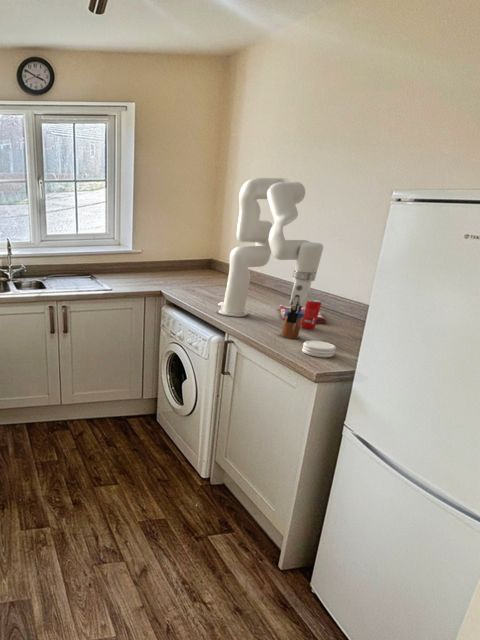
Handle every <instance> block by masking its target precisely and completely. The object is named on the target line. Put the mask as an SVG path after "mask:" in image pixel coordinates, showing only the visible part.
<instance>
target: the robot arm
mask: <svg viewBox="0 0 480 640" xmlns="http://www.w3.org/2000/svg"><path fill="white" fill-rule="evenodd" d="M305 196H306V188H305V186H304V184H303V183H302V182H299V181H296V180H292V179H287V178H282V177H254V178H250V179H249V180H247V181H245V182H244V183H243V185H242V186H241V188H240V190H239V194H238V204H239V205H238V206H239V211H238V219H237V227H236V236H235V237H236V240H237V241H238V242H239V243H242V244H243V243H245V244H247V243H250V244H251V243H252V244H253V243H255V245H239V246H236V247H234V248H233V249H231V251H230V253H229V269H228V276H227V283H226V289H225V292H224V299H223V301H220V302H218V303H217V306H218V307H220V309H219V310H218V313H219V314H220V315H223V316H227V317H234V318H237V317H239V318H242V317H247V316H248V311H246V310H245V309H246V303H247V299H248V293H249V290H250V289H249V288H250V283H251V276H252V275H251V273H250V269H249V268H259V267H260V268H261V267H265V266H266V265H267V264H268V263H269V261H270V259H271V254H272V256H273V258H274V259H276V260H279V261H296V262H295V266H294V269H293V274H292V278H291V279H292V280H294V283H293V287H292V291H291V295H290V299H289V305H290V307H291V308H290V311H289V314H288V318H287V322H289V323H296V320H297V316H298V310H299V311H301V310H300V309H301V308H304V307H305V306H306V304H307V301H308V300H309V295H310V292H311V291H310V290H311V287H312V282H315V281H316V277H317V273H318V269H319V265H320V262H321V258H322V253H323V251H324V244H322V243H320V242H313V241H309V240H307V239H286V238H285V235H284V227H286V226H288V225H289V224H291V223H293V222H294V221H296V220H297V218H298V217H299V211H298V208H297V206H296V205H297V204H300V203H301V202H302V201H303V200H304V198H305ZM258 200H267V202H268V206H269V208H270V212H271V216H272V219H273V223H272V222H271V221H269V220H260V216H261V206H260V204H259V202H258Z"/></svg>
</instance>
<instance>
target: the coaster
mask: <svg viewBox="0 0 480 640" xmlns="http://www.w3.org/2000/svg"><path fill="white" fill-rule="evenodd" d="M336 349H337V347H336V346H335V345H334V344H332V343H329V342H326V341H322V340H306V341H304V342H303V344H302V349H301V352H302V353H303V354H305V355H308V356H311V357H317V358H323V359H324V358H325V359H326V358H333V357H334V355H335V352H336Z"/></svg>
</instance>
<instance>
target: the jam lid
mask: <svg viewBox="0 0 480 640" xmlns="http://www.w3.org/2000/svg"><path fill="white" fill-rule="evenodd" d="M289 311H290V309H288V310H286V311H285V315H286V316H288V314H289ZM303 316H304V312H302V311H299V310H298V316H297V318H303Z"/></svg>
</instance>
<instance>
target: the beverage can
mask: <svg viewBox="0 0 480 640" xmlns="http://www.w3.org/2000/svg"><path fill="white" fill-rule="evenodd" d="M321 306H322V301H321V300H320V299H308V300H307V303H306V304H305V307H304V308H305V311H304V316H303V319H302V323H301V329H304V330H308V331H309V330H314V328H315V327H316V324H317V322H316V321H317V317H318V314H319V312H320V310H321Z"/></svg>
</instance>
